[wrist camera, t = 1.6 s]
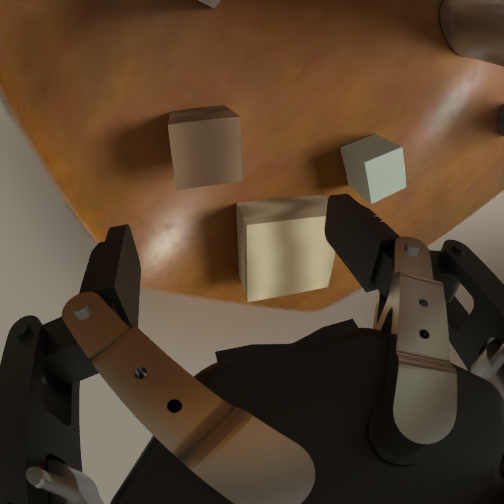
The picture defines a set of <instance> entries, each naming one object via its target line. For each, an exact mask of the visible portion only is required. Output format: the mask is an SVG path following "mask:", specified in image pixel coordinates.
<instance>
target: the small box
mask: <svg viewBox="0 0 504 504" xmlns="http://www.w3.org/2000/svg"><path fill="white" fill-rule="evenodd" d="M198 1H200V2H202V3H204V4H206V5H208V6H210V7H212V8H215V7H216V6H217V5H218V4H219V2H220V1H221V0H198Z"/></svg>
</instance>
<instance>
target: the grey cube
mask: <svg viewBox="0 0 504 504" xmlns="http://www.w3.org/2000/svg"><path fill="white" fill-rule="evenodd" d="M340 150H341V154H342V158H343V162H344V167H345V171H346V176H347V180H348V185H349V186H350V187H351V188H353V189H354V190H355V191H356V192H358V193H359V194H360V195H361V196H362V197H364V198H365V199H366V200H367V201H368V202H370V203H371V204H372V203H374V202H377V201H379V200H381V199H383V198H385V197H387V196H389V195H391V194H393V193H395V192H397V191H399V190H401V189H403V188H406V178H405V166H404V157H403V148H402V146H400V145H398V144H396V143H394V142H391V141H389V140H387V139H385V138H383V137H381V136H379V135H377V134H374V135H371V136H369V137H366V138H363V139H361V140H358V141H356V142H353V143H350V144H348V145H345V146H343V147H340Z"/></svg>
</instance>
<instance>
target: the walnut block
mask: <svg viewBox="0 0 504 504" xmlns="http://www.w3.org/2000/svg"><path fill="white" fill-rule="evenodd" d="M168 132H169V140H170V148H171V155H172V163H173V170H174V177H175V184H176V190H182V189H188V188H194V187H201V186H208V185H215V184H223V183H230V182H238V181H243V179H242V155H241V131H240V116H238V115H237V114H236V113H234V112H233V111H232V110H230V109H229V108H228V107H226V106H225V105H223V106H213V107H203V108H195V109H187V110H180V111H173V112H170V115H169V121H168Z"/></svg>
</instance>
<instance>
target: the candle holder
mask: <svg viewBox="0 0 504 504" xmlns="http://www.w3.org/2000/svg"><path fill="white" fill-rule="evenodd" d="M498 130H499V132H500V134H501V135H502V136H504V105H503V106H502V107H501V109H500V111H499V115H498Z"/></svg>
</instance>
